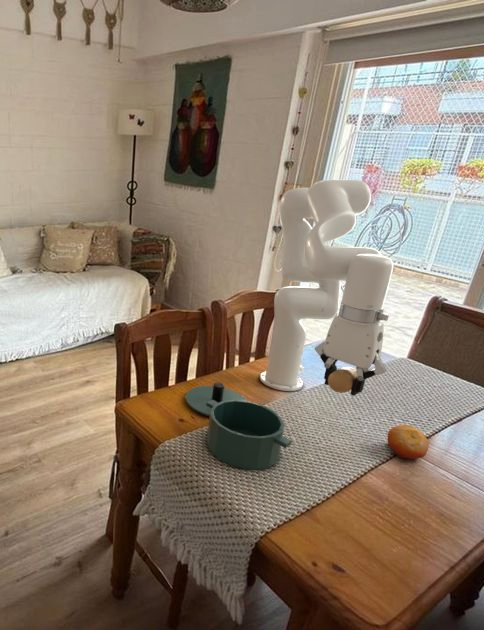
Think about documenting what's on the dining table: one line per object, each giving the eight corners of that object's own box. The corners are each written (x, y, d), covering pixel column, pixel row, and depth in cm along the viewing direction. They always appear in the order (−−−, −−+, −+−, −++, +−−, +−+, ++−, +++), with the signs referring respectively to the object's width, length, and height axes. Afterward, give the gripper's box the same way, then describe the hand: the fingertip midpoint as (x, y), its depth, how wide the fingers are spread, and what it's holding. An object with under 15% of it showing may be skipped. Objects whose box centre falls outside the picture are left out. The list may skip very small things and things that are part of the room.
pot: (226, 417, 121) (229, 389, 118) (303, 458, 104) (309, 427, 101) (185, 437, 112) (187, 408, 109) (262, 486, 95) (267, 453, 92)
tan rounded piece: (338, 380, 104) (343, 361, 102) (361, 388, 100) (366, 369, 98) (321, 390, 99) (325, 370, 97) (344, 399, 95) (349, 379, 94)
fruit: (407, 435, 111) (425, 421, 105) (420, 466, 106) (439, 453, 99) (374, 433, 111) (389, 419, 105) (384, 464, 106) (401, 450, 100)
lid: (211, 384, 139) (213, 366, 137) (261, 408, 125) (264, 388, 123) (172, 400, 129) (174, 381, 127) (222, 428, 116) (224, 407, 114)
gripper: (412, 321, 89) (390, 399, 95) (328, 299, 102) (313, 369, 108) (397, 329, 85) (375, 410, 91) (311, 305, 98) (296, 378, 104)
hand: (341, 387), depth 99 cm, fingers closed on tan rounded piece, 5 cm apart
